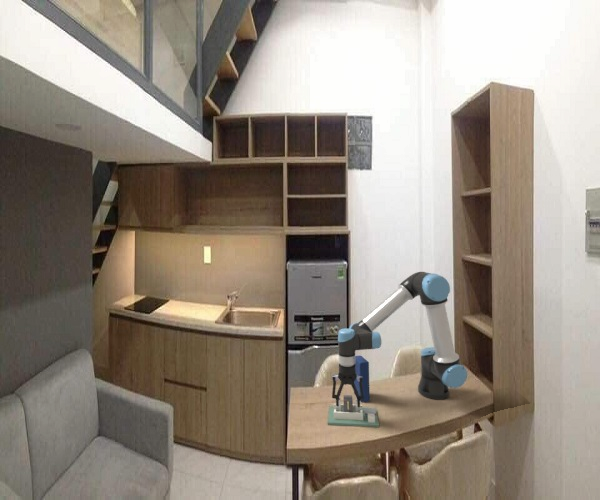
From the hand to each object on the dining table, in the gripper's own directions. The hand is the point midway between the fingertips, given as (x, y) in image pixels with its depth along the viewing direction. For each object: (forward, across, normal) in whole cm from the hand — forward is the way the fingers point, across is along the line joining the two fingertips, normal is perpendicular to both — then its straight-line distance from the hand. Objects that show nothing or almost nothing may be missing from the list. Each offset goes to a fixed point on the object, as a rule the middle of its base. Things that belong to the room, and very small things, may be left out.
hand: (348, 413), depth 151 cm
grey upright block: (+1, 0, 0) cm, 1 cm away
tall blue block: (+2, -7, -19) cm, 20 cm away
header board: (+2, -2, 0) cm, 3 cm away
